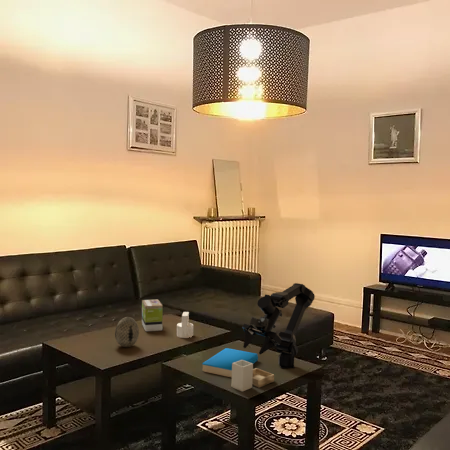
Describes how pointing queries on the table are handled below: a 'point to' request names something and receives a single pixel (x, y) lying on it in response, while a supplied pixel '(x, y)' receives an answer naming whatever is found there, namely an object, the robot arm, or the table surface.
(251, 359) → the book
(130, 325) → the decorative egg
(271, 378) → the pine crate
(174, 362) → the table surface
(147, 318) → the tea box
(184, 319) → the cylinder with rectangular tab
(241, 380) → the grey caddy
